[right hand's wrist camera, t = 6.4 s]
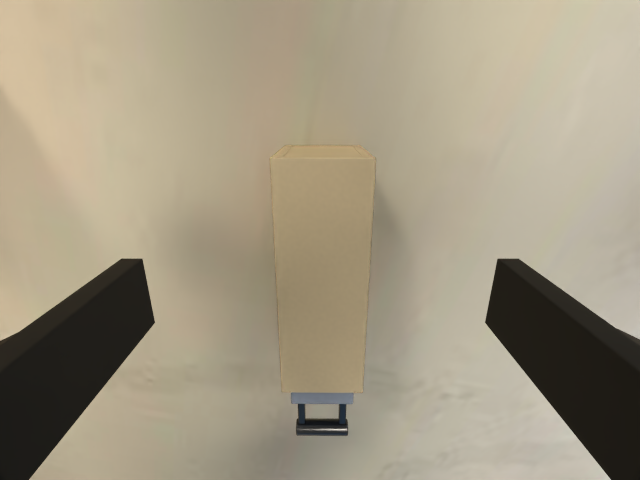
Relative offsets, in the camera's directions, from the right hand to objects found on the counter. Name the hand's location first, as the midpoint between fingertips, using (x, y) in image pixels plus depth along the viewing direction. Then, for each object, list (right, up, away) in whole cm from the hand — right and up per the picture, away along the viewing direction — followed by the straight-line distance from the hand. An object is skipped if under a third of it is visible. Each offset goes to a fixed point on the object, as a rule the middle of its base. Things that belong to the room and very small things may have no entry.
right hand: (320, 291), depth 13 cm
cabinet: (0, +1, +17) cm, 17 cm away
